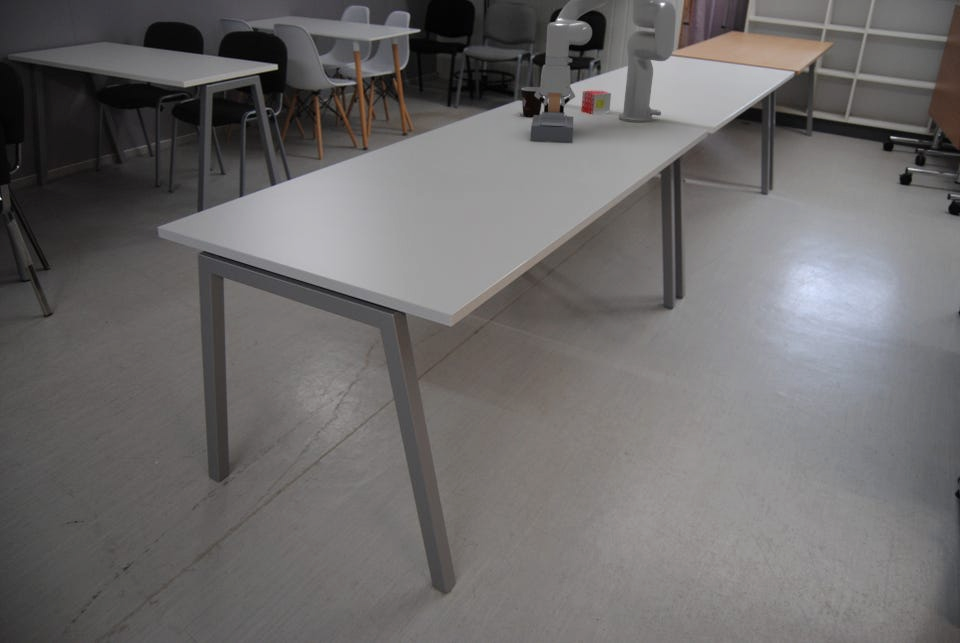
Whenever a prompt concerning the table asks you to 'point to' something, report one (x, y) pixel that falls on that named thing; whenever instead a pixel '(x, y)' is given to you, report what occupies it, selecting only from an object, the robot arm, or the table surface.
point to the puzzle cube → (596, 102)
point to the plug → (554, 102)
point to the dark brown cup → (530, 102)
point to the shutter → (553, 118)
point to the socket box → (552, 130)
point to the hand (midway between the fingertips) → (553, 116)
